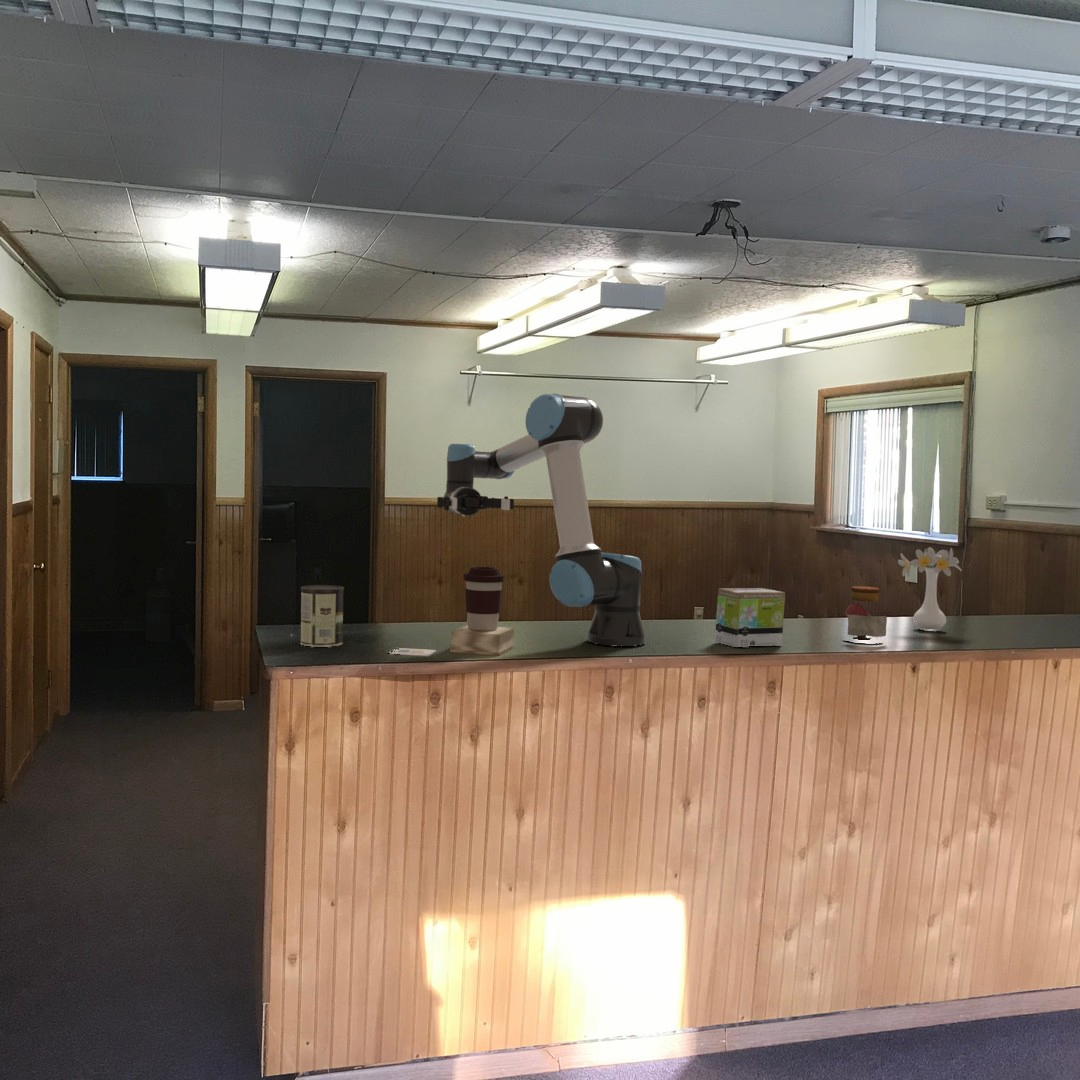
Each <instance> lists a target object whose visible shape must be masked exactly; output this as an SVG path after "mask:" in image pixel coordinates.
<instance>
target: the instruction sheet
mask: <svg viewBox="0 0 1080 1080" xmlns="http://www.w3.org/2000/svg"><path fill="white" fill-rule="evenodd" d="M398 648H399V650H398V649H396V650H395V649H394V648H393V649H394V650H393V649H392V650H393V652H392V653H391V652H390V651H388V652H389V653H390V654H389V655H394V654H400V655H401V656H412V657H413V656H415V657H430V656H431V655H433V654H434V653H435V652H436V651H437V650H436V649H426V648H425V649H424V648H423V649H422V648H409V647H408V648H406V647H405V648H404V647H398ZM394 651H395V652H394ZM400 655H399V656H400Z"/></svg>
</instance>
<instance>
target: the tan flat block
mask: <svg viewBox="0 0 1080 1080" xmlns="http://www.w3.org/2000/svg"><path fill="white" fill-rule="evenodd" d="M514 629H515V628H514V627H507V626H506V627H505V626H498V628H497V629H496V630H493V631H475V630H470V629H469V628H468V624H466V625H462V626H460V627H458V628H456V629H453V630H451V633H450V634H451V639H450V643H451V644H450V649H449V653H450V652H451V653H460V654H473V655H485V656H496V657H498V656H502V655H504V654H505V652H506V653H507V652H509V651H511V650H513V649H515V645H514V637H515V635H514V634H515V630H514ZM512 648H513V649H512ZM510 649H511V650H510ZM508 650H509V651H508ZM503 653H504V654H503Z"/></svg>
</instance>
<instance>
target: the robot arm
mask: <svg viewBox="0 0 1080 1080" xmlns="http://www.w3.org/2000/svg"><path fill="white" fill-rule="evenodd" d="M603 425H604V416H603V412H602V410H601V408H600V407H599V405H598V404H597V403H596V402H595V401H593V400H592V399H590V398H587V397H583V396H574V395H563V394H558V393H552V394H551V393H550V394H548V393H545V394H541V395H539V396H537V397H536V398H534V400H533V401H532V402H531V403H530V406H529V407H528V409H527V412H526V415H525V429H526V431H527V433H528V434H527V435H525V436H523V437H522V436H521V438H518V439H516V440H514V441H512V442H510V443H507V444H505V445H503V446H501V447H500V448H499V447H498V448H497V449H495V450H493V451H478V450H477V451H476V450H475V446H474V444H470V443H469V444H468V443H451V444H449V445H448V447H447V455H446V486H445V493H444V494H443V496H438V497H437V500H436V507H437V508H443V507H444V508H443V509H444V511H450V512H451V513H454V514H459V515H461V517H466V516H473V515H476V514H477V513H479V511H480V510H487V509H488V508H490V509H491V508H492V509H500V510H503V511H510V510H514V508H515V499H514V498H509V496H507V495H506V496H504V498H496V497H488V496H485V495H481V493H480V492H479V491H478V490H477V489H475V488H474V482H475V481H474V479H490V480H491V479H496V480H502V479H509V478H510V477H511V476H513V474H514V472H515V471H516V470H518V469H520V468H523V467H525V466H527V465H531V464H532V463H534V462H537V461H539V460H541V459H544V458H546V465H547V471H548V477H549V479H548V480H549V484H550V490H551V491H550V492H551V498H552V502H553V503H552V504H553V511H554V517H555V524H556V529H557V537H558V542H559V543H558V544H559V550H558V552H557V553H556V554H555V556H554V557H555V562H556V563H555V564H554V565H552V567H551V572H549V586H550V589H551V592H552V594H553V595H554V598H556V600H557V601H559V602H560V603H561V604H562V605H565V606H567V607H577V608H583V607H587V606H589V607H590V606H594V614H593V615H592V616H593V617H592V620H591V622H590V624H589V628H588V631H587V634H586V635H587V637H586V641H587V640H588V641H589V642H592V643H597V644H603V645H617V646H621V645H622V646H634V645H640V644H644V643H645V644H646V639H647V638H646V632H645V629H644V624H643V621H642V619H641V618H642V617H641V615H640V613H641V612H640V611H641V596H642V595H641V590H642V575H643V571H642V561H641V559H640V557H637V556H633V555H627V554H620V553H619V554H618V553H611V552H602V548H600V547H599V546H598V545H597V544H595V541H594V535H593V530H592V529H593V528H592V522H591V515H590V510H589V503H588V497H587V491H586V485H585V478H584V472H583V465H582V459H581V454H580V451H581V449H582V448H583V446H584V445H585V444H588V443H589V442H591V441H593V440H594V439H595V438H596V437H598V435H599V434H600V433H601V431H602V429H603ZM589 642H588V643H589ZM592 643H591V644H592ZM645 644H644V645H645ZM603 645H602V646H603ZM634 647H635V646H634Z"/></svg>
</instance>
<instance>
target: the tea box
mask: <svg viewBox="0 0 1080 1080" xmlns="http://www.w3.org/2000/svg"><path fill="white" fill-rule="evenodd" d="M785 603H786V592H785V591H780V590H774V589H770V588H763V587H757V588H756V587H754V588H753V587H749V588H748V587H746V588H745V587H741V588H740V587H734V588H733V587H732V588H729V587H726V588H723V587H720V588H718V591H717V604H716V614H715V615H716V616H715V617H716V619H715V631H714V632H715V634H714V643H716V642H717V644H719V643H721V644H720V645H722V644H725V645H729V646H733V647H743V648H750V647H749V646H772V645H782V646H783V632H784V619H785V618H784V617H785V616H784V615H785ZM725 645H724V646H725ZM729 646H728V647H729ZM733 647H732V648H733Z"/></svg>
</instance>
